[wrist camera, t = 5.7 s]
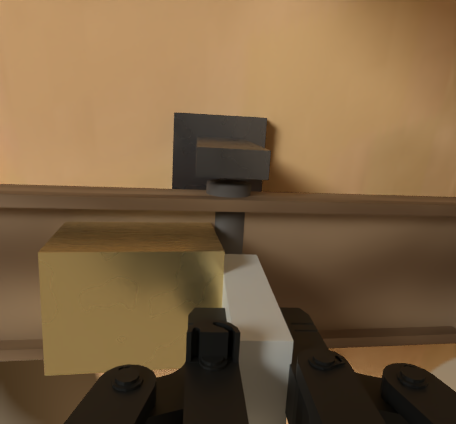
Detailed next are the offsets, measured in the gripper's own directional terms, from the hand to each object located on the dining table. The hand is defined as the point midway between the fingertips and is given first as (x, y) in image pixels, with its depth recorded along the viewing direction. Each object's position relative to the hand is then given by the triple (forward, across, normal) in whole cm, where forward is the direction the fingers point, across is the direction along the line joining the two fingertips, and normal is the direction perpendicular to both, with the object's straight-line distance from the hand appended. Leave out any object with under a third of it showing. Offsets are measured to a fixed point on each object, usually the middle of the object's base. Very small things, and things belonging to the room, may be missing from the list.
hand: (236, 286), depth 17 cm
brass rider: (+2, -4, 0) cm, 4 cm away
